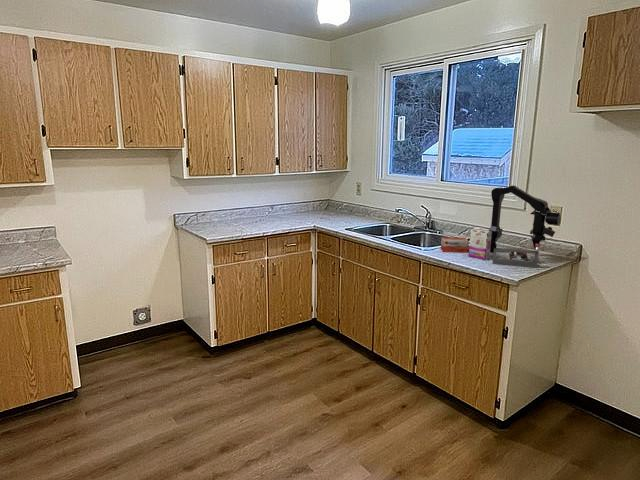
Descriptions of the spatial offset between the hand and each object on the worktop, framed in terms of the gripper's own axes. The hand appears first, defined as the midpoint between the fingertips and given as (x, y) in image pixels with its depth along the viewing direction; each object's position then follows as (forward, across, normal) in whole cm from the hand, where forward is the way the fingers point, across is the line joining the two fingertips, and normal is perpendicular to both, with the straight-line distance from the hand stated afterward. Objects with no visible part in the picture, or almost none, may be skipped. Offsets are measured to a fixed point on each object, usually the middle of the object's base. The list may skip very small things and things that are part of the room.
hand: (535, 249), depth 243 cm
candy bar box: (+6, -8, +30) cm, 32 cm away
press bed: (+6, -16, +12) cm, 20 cm away
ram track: (+6, -1, 0) cm, 6 cm away
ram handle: (+6, -6, 0) cm, 8 cm away
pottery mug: (+6, -7, +8) cm, 12 cm away
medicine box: (+7, +4, +45) cm, 46 cm away
